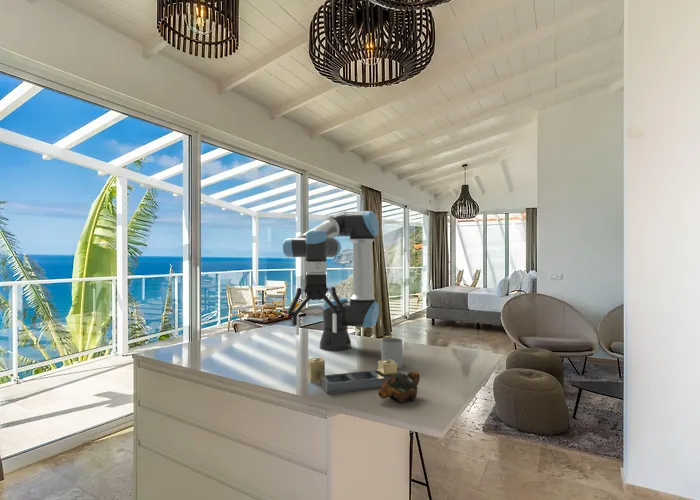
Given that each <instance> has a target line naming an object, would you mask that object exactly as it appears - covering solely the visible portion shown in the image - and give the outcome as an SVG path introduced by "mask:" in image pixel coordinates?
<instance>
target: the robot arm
mask: <svg viewBox="0 0 700 500" xmlns="http://www.w3.org/2000/svg"><path fill="white" fill-rule="evenodd" d="M376 215H377V214H375V212H373V211H370V210H358V211H357V210H356V211H343V212H338V213H335V214H333V215H330V216H328V217H327V218H325V219H323V220H322V221H321V223H320V224H318V225H317V226H315V227H313V228H312V229H310V230H307V231H306V232H305V233H303V234H301V235H299V236H298V237H291V238H290V237H289V238H286V239H284V241H283V243H282V252H283V254H284V255H285V257H288V258H305V273H306V275H305V286H304V288H302V287H296V290H295V295H294V297H293V299H292V301H291V303H290V306H289V307H288V309H287V312H286V313H287V314H288V315H290V316H292V325H293V326H294V327H295V331H294V332H295V335H296V336H299V335H300V315H298V314H300V312H301V311H302V309H303V308H304V307H305V306H306V305H307V304H308V302H310V300H312V301H316V300H318V301H322V300H323V301H324V302H323V307H322V308H323V309H322V317H323V318H322V319H323V320H322V321H323V322H322V323H323V325H322V326H323V330H322V331H323V332H322V334H321V337H320V341H319V348H320V349H322V350H324V351H325V350H326V351H345V350H346V351H347V350H348V349H349V350H350V349H351V348H352V341H351V337H350V335H349V331H348V327H356V328H358V327H359V328H365V329H366V328H372V327H374V326H375V325H376V324H377V321H378V319H379V315H380V314H379V313H380V305H379V303H378V302H377V301H375V300H376V299H375V296H373V294H372V243H373V242H374V241H375V237H377V236H378V234H379V231H380V228H379V225H380V224H379V221H378V217H377V216H376ZM337 237H349V241H350V242H351V243H352V295H351V296H350V297H349V298H347V297H340V298H339V296H338V295H337V292H336V287H335V286H330V287H328V285H327V282H328V281H327V280H328V279H327V274H326V273H328V272H327V270H328V269H327V263H328V262H327V261H328V260H327V258H334V257H336V256H338V255H339V254H340V253H341V249H342V245H341V242H340V241H339V239H337ZM328 292H329V293H330V294H331V297H332V298H333V299H329V297H328V296H327V295H326V294H327V293H328ZM303 293H305V296H304V298H303V300H301V302H300V303H299V305H297V304H298V302H299V299H300V297H301V295H303ZM348 299H349V300H348ZM296 306H297V307H296Z"/></svg>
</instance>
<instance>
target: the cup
mask: <svg viewBox="0 0 700 500" xmlns="http://www.w3.org/2000/svg"><path fill="white" fill-rule="evenodd" d="M380 341H381V342H380V343H381V346H380V347H381V352H380V353H381V354H380V355H381V356H380V357H381V359H380V360H390V359H391V360H393V361H394V362H396V363H397V369H399V368H402V367H403V340H402V339H400V338H395V337H388V338H387V337H386V338H385V337H384V338H382V339H381V340H380Z"/></svg>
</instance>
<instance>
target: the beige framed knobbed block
mask: <svg viewBox="0 0 700 500" xmlns="http://www.w3.org/2000/svg"><path fill="white" fill-rule="evenodd" d="M377 370H378V374H379V375H380V376H381V377H387V376H391V375H393V374H397V370H398V368H397V363H396V362H394V361H393V360H391V359H390V360H381V359H380V360H377Z"/></svg>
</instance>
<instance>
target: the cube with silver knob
mask: <svg viewBox="0 0 700 500" xmlns="http://www.w3.org/2000/svg"><path fill="white" fill-rule="evenodd" d="M325 363H326V361H325V359H324V358H322V357H312V358H307V380H308V381H309V382H310V383H317V382H318V383H320V382H319V381H320V376H322V375H326V372H325V371H326V370H325V369H326V367H325V366H326V364H325Z"/></svg>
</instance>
